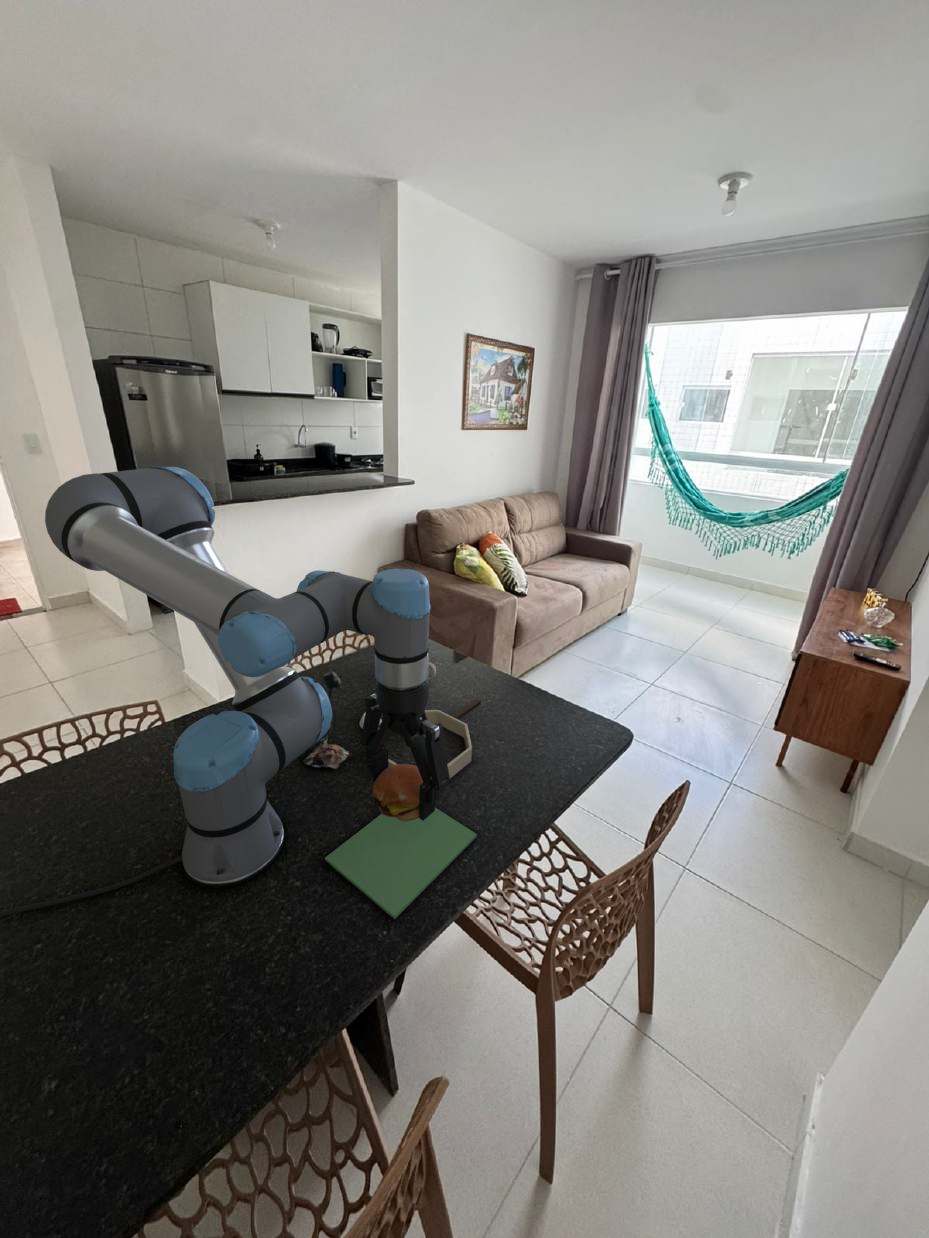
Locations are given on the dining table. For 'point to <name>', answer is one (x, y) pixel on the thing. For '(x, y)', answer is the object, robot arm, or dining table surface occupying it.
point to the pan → (456, 727)
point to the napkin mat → (400, 857)
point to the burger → (398, 792)
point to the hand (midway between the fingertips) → (403, 799)
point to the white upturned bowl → (363, 721)
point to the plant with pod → (323, 752)
